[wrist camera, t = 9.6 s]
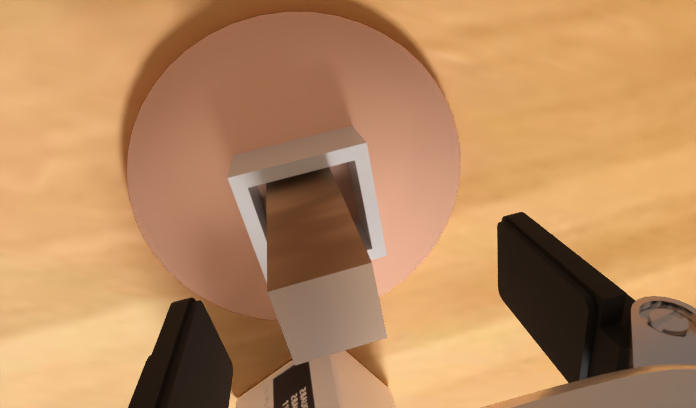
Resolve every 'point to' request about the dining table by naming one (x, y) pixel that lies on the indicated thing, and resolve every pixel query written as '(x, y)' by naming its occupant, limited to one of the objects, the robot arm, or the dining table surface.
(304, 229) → the wooden square post
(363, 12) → the dining table surface
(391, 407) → the container
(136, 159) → the clip base
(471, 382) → the dining table surface
